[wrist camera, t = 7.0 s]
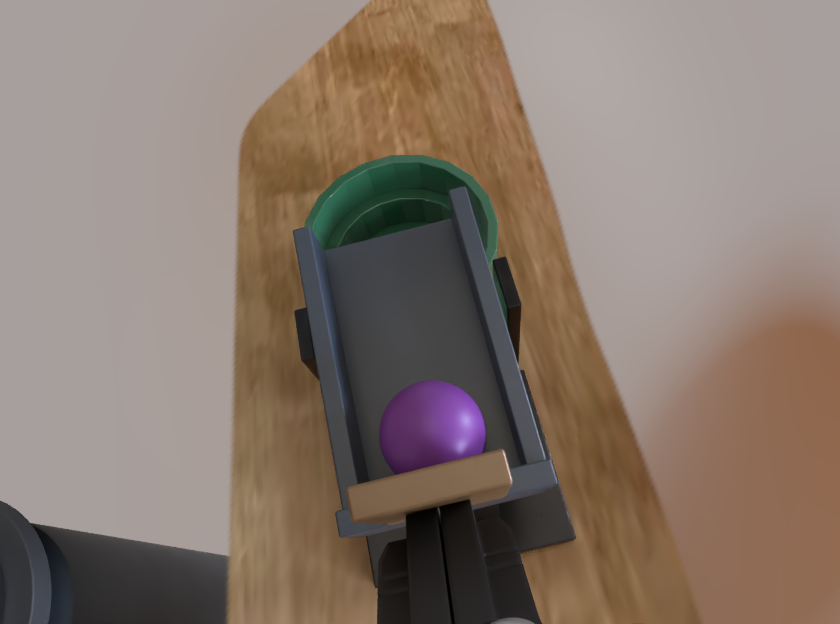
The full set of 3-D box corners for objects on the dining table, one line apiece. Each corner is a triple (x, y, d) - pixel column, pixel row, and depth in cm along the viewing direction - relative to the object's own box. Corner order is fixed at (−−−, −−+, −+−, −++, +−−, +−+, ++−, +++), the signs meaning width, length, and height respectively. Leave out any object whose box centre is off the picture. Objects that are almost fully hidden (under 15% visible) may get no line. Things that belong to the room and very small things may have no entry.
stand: (574, 540, 28) (609, 508, 18) (378, 588, 28) (312, 581, 18) (517, 356, 32) (522, 251, 22) (345, 399, 32) (277, 314, 22)
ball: (465, 509, 19) (461, 503, 16) (372, 471, 20) (351, 458, 17) (500, 413, 20) (501, 391, 17) (410, 380, 21) (396, 352, 18)
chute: (546, 491, 20) (585, 466, 12) (363, 536, 20) (280, 541, 12) (467, 220, 23) (456, 58, 15) (311, 259, 23) (220, 120, 15)
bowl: (461, 388, 31) (454, 353, 27) (299, 331, 34) (267, 289, 29) (522, 235, 35) (525, 180, 30) (370, 193, 37) (351, 136, 33)
